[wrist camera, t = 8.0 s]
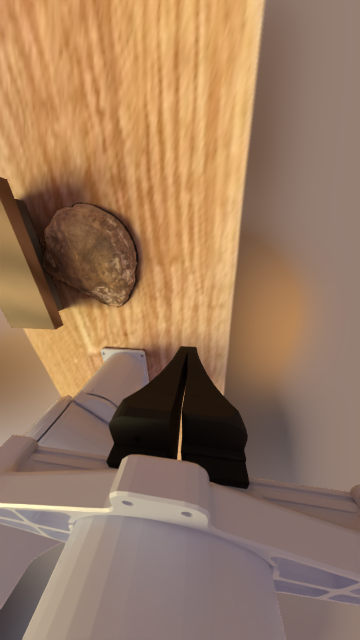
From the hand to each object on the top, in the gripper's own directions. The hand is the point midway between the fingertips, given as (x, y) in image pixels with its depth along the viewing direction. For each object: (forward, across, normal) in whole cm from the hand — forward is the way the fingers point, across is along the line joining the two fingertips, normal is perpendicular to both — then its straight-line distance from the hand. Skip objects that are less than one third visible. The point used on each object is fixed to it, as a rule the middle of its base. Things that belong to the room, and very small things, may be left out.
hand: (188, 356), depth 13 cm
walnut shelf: (+10, +19, -7) cm, 23 cm away
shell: (+11, +13, -8) cm, 18 cm away
